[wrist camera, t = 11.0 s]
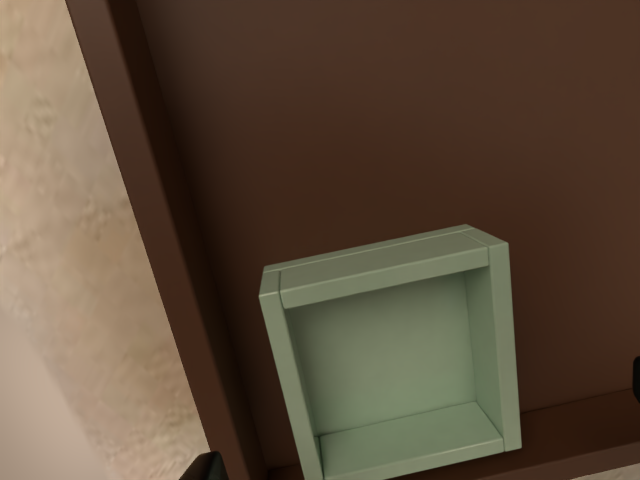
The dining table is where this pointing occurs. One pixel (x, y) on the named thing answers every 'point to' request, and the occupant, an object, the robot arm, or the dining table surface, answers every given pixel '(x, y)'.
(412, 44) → the tray
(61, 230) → the dining table surface
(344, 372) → the celadon dish
